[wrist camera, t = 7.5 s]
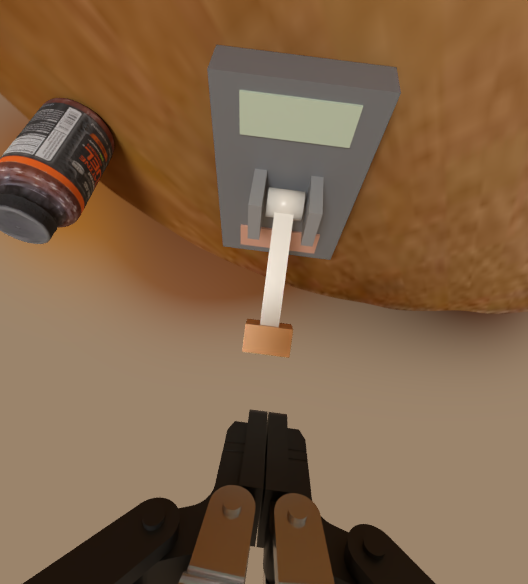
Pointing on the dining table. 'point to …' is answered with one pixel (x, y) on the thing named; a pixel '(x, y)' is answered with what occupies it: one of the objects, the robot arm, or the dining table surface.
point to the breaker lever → (275, 277)
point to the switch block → (294, 140)
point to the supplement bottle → (52, 170)
